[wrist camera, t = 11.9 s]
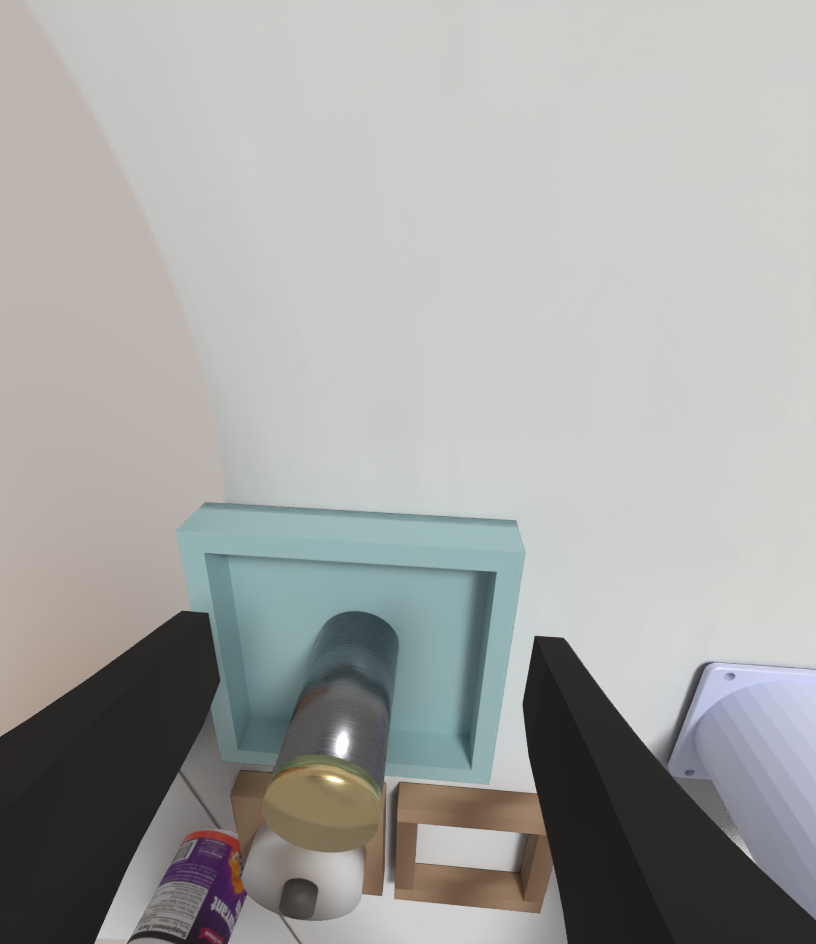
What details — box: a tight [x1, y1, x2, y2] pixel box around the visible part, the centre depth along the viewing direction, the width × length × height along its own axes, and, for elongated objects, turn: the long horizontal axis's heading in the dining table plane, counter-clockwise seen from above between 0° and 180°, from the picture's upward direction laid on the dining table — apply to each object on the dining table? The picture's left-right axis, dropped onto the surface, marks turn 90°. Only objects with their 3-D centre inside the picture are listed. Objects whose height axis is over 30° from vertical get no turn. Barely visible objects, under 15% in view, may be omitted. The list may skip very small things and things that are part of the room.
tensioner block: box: [230, 770, 553, 921], centre depth 28 cm, size 19×9×4 cm, turn 88°
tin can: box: [262, 611, 399, 853], centre depth 19 cm, size 4×4×8 cm
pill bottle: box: [127, 828, 247, 944], centre depth 28 cm, size 5×5×10 cm
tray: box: [176, 502, 525, 785], centre depth 22 cm, size 14×14×2 cm
